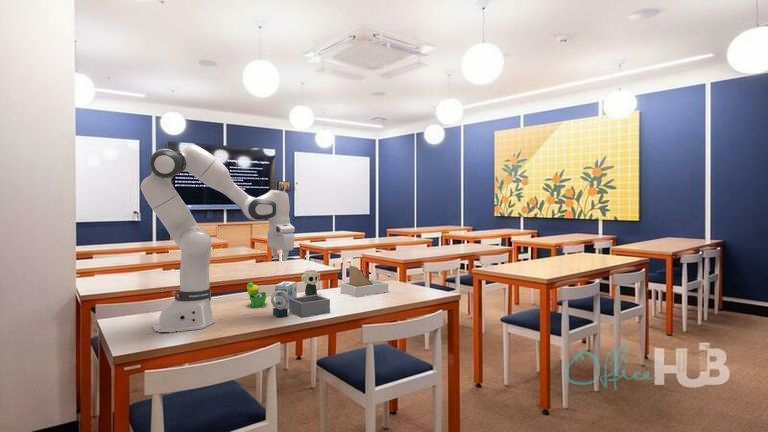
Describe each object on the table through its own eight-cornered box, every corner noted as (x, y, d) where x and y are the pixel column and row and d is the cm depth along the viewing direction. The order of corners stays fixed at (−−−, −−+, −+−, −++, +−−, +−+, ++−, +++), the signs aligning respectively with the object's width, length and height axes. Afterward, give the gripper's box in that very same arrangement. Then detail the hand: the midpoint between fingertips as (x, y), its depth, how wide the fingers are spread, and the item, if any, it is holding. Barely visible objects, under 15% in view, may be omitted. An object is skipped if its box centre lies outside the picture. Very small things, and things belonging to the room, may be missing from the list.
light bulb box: (288, 308, 213) (288, 285, 212) (274, 308, 214) (274, 285, 214) (297, 303, 223) (297, 281, 223) (284, 302, 225) (283, 281, 224)
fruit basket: (266, 307, 215) (266, 283, 215) (246, 308, 213) (246, 284, 212) (265, 302, 226) (265, 279, 226) (247, 303, 224) (246, 280, 223)
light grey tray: (355, 297, 237) (355, 287, 237) (340, 292, 249) (340, 283, 249) (388, 292, 249) (388, 283, 249) (372, 287, 261) (372, 279, 261)
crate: (301, 317, 197) (301, 303, 197) (289, 311, 207) (289, 298, 206) (329, 312, 205) (329, 299, 205) (317, 307, 215) (316, 294, 215)
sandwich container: (381, 292, 250) (381, 264, 249) (356, 295, 242) (356, 267, 241) (373, 289, 257) (373, 263, 256) (349, 292, 249) (349, 265, 248)
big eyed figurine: (305, 298, 235) (305, 272, 234) (298, 295, 240) (298, 271, 240) (323, 295, 242) (323, 270, 241) (316, 293, 247) (316, 269, 247)
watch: (291, 315, 200) (291, 290, 200) (274, 318, 195) (274, 292, 195) (286, 313, 205) (285, 288, 204) (269, 316, 200) (268, 290, 199)
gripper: (263, 226, 205) (263, 257, 205) (282, 229, 188) (283, 262, 189) (276, 225, 209) (277, 256, 209) (296, 228, 192) (297, 261, 193)
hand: (280, 259), depth 199 cm, fingers open, 8 cm apart
